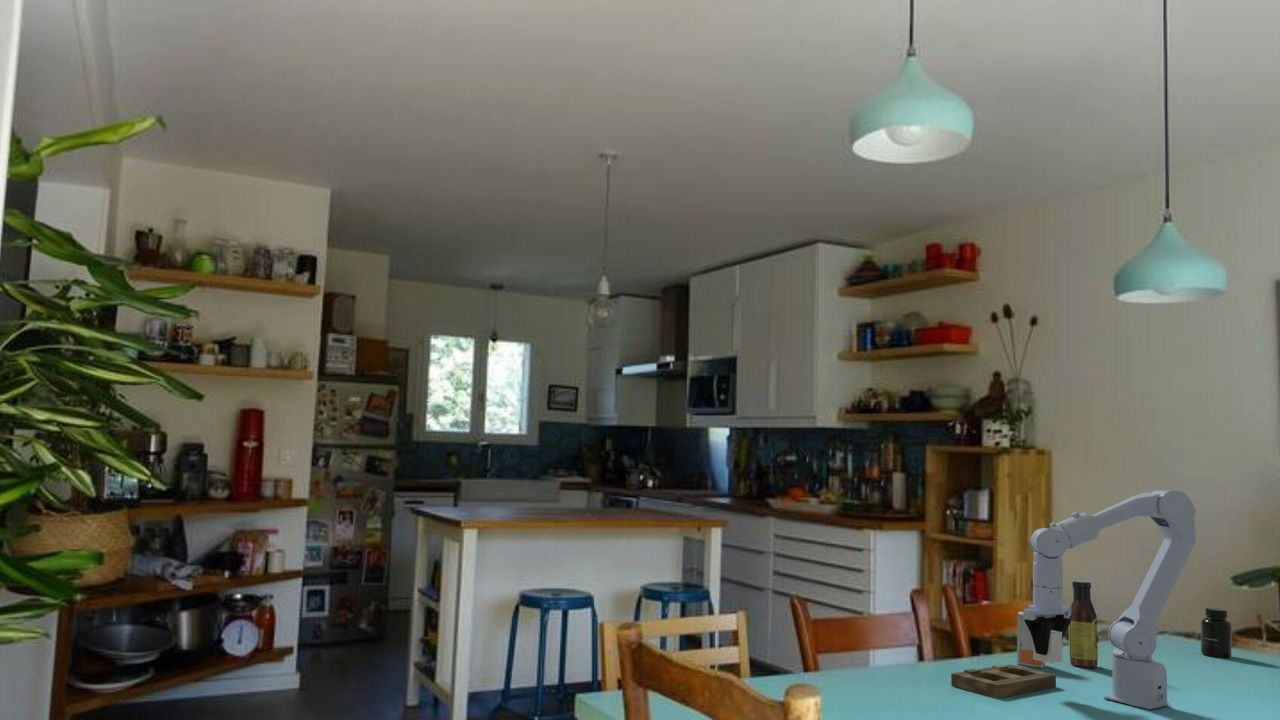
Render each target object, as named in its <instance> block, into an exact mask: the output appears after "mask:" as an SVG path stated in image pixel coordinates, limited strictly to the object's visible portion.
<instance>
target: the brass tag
mask: <svg viewBox="0 0 1280 720" xmlns="http://www.w3.org/2000/svg"><path fill="white" fill-rule="evenodd" d="M1006 665H1007V664H1002V663H1001V664H1000V663H999V664H996V665H995V664H994V665H992V666H991V667H992V668H996V669H1005V668H1008V666H1006Z"/></svg>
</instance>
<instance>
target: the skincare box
mask: <svg viewBox="0 0 1280 720" xmlns="http://www.w3.org/2000/svg"><path fill="white" fill-rule="evenodd" d="M1016 636H1017V639H1016V640H1017V641H1016V665H1018V666H1019V665H1020V666H1027V667H1034V668H1039V667H1040V668H1039V669H1044V668H1045V666H1046V662H1043V661H1038V660H1034V659H1033V639H1032V636H1031V633H1030V631H1029V628H1028V627H1027V625H1026V623H1025V619H1023V611H1018V613H1017V633H1016Z"/></svg>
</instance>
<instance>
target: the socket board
mask: <svg viewBox="0 0 1280 720" xmlns="http://www.w3.org/2000/svg"><path fill="white" fill-rule="evenodd" d="M1005 665H1006V666H1008V668H1005V669H996V668H992V666H991V667H985V668H977V670H981V672H980V673H974V674H970V673H966V672H964V671H959V672H952V673H951V675H950V676H951V677H950V679H951V680H950V684H951V687H956V688H958V689H959V688H960V689H962V690H963V689H964V690H966V691H970V692H973V693H974V692H975V693H977V694H981V695H986V696H988V697H992V698H996V699H1000V698H1005V697H1011V696H1016V695H1021V694H1026V693H1031V692H1036V691H1041V690H1042V689H1043V690H1047V689H1052V688H1056V687H1057V685H1056V684H1057V675H1056V674H1054V673H1049V672H1045V671H1042V670H1036V669H1032V668H1028V667H1023V666H1021V665H1020V666H1019V665H1014V664H1012V663H1011V664H1005Z"/></svg>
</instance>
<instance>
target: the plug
mask: <svg viewBox="0 0 1280 720" xmlns="http://www.w3.org/2000/svg"><path fill="white" fill-rule="evenodd" d="M1033 659H1034V660H1038V661H1043V662H1045V663H1048V664H1055V663H1060V662H1061V663H1062V662H1063V641H1062V632H1060V631H1054V630H1051V633H1050V637H1049V646H1048V652H1047V655H1042V654H1037V653H1036V651H1035V647H1034V643H1033Z"/></svg>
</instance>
